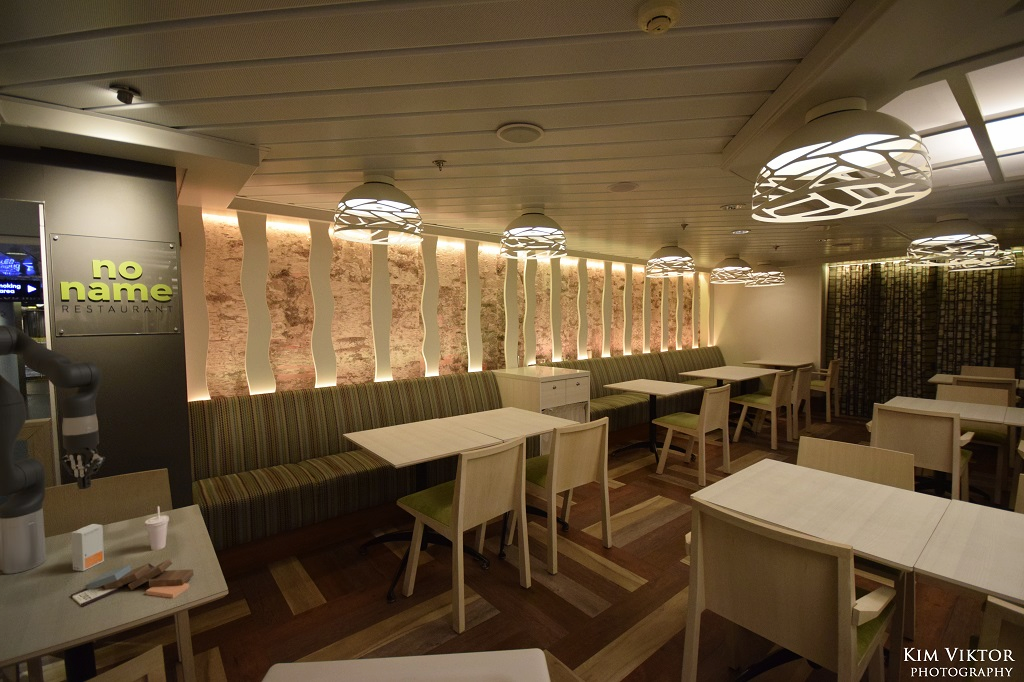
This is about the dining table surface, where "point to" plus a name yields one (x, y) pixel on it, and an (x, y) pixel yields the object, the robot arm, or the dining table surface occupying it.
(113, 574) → the domino
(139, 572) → the domino
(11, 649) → the dining table surface
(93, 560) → the skincare box
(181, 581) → the domino
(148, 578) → the domino
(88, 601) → the chocolate bar
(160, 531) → the smoothie
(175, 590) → the domino end
